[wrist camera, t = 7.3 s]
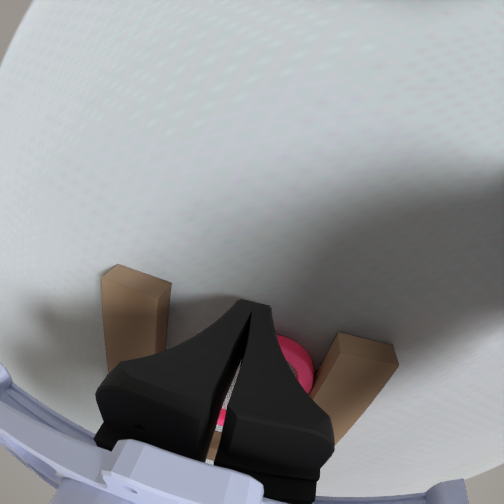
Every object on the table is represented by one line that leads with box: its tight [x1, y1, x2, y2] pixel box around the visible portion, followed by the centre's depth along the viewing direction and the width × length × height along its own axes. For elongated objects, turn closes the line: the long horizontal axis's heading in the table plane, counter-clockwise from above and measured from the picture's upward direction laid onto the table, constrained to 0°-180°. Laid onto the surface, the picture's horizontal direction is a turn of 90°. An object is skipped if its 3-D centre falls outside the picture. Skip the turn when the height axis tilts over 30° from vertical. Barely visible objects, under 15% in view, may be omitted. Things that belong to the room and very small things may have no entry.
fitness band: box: [217, 335, 314, 426], centre depth 15 cm, size 8×6×2 cm
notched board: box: [101, 264, 399, 461], centre depth 15 cm, size 14×13×2 cm
